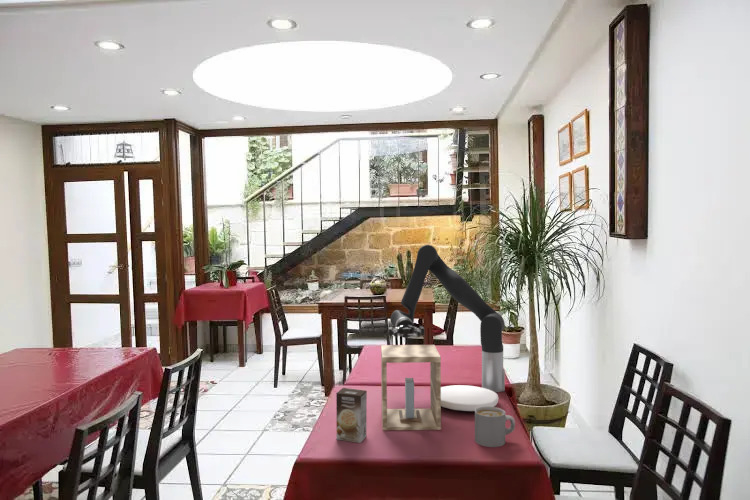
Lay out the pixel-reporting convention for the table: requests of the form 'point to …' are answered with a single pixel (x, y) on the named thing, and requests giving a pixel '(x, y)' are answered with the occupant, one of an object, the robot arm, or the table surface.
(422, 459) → the table surface
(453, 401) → the plate
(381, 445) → the table surface
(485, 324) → the robot arm
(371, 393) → the table surface
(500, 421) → the coffee mug
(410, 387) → the grey block
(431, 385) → the shelf
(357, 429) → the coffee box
